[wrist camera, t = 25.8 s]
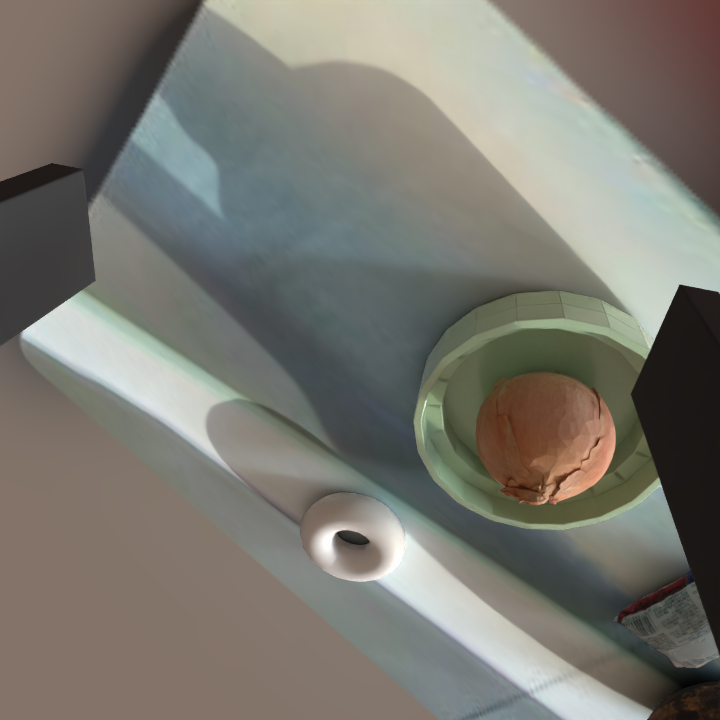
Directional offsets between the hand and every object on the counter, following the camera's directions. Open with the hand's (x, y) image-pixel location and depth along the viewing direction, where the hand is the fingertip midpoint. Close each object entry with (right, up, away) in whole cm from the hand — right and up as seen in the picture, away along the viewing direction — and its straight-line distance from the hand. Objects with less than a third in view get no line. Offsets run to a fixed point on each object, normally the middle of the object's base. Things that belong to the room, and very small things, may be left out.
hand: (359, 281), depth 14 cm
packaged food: (+30, -23, +41) cm, 56 cm away
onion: (+14, -5, +33) cm, 36 cm away
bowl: (+14, -5, +33) cm, 37 cm away
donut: (0, -17, +44) cm, 48 cm away
